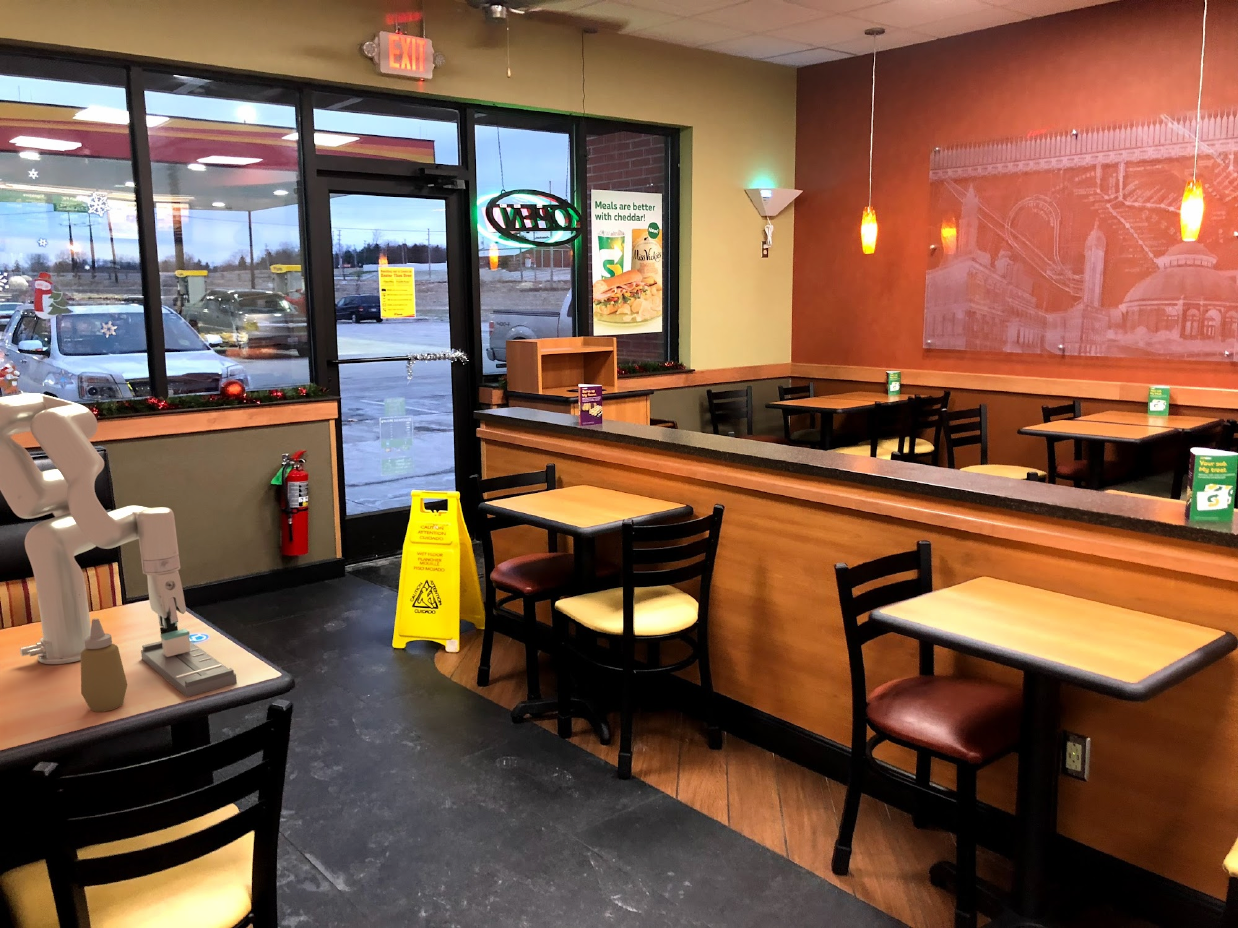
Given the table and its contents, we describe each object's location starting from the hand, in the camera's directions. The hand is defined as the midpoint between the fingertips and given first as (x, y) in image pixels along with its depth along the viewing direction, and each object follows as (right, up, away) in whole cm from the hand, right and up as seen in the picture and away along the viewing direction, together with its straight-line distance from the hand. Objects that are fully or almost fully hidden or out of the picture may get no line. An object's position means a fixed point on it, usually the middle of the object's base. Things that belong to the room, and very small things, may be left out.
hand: (170, 643), depth 218 cm
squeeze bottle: (-1, -8, -25) cm, 26 cm away
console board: (+7, -5, -7) cm, 11 cm away
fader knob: (+3, -1, -3) cm, 4 cm away
